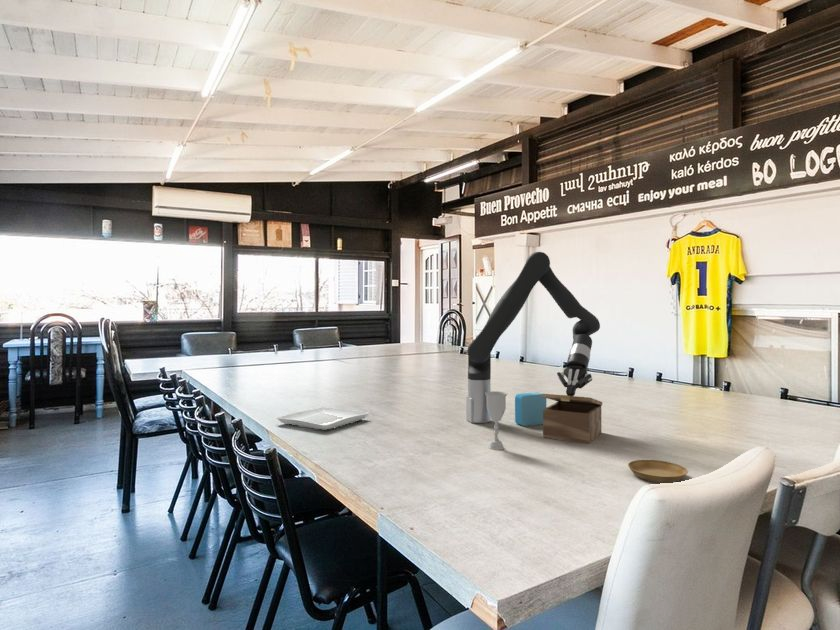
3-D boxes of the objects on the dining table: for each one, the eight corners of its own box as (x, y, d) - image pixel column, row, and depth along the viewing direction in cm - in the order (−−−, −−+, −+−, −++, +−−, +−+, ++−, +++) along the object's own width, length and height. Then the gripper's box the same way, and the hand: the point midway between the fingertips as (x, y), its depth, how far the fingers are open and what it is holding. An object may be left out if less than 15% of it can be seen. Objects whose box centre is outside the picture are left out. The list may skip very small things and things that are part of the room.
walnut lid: (557, 403, 194) (557, 398, 194) (602, 407, 185) (602, 402, 185) (541, 399, 178) (541, 393, 178) (589, 403, 169) (589, 397, 170)
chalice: (509, 445, 168) (508, 392, 168) (505, 451, 162) (505, 395, 161) (487, 444, 170) (487, 391, 170) (483, 449, 164) (482, 394, 164)
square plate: (371, 420, 209) (371, 411, 209) (325, 435, 186) (325, 424, 186) (322, 414, 223) (322, 405, 223) (274, 426, 200) (274, 416, 200)
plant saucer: (660, 489, 127) (660, 479, 127) (616, 472, 141) (616, 463, 141) (700, 481, 133) (700, 471, 133) (654, 465, 147) (654, 456, 147)
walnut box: (558, 427, 194) (558, 401, 194) (601, 432, 186) (601, 405, 185) (543, 437, 179) (543, 409, 179) (589, 443, 170) (589, 414, 170)
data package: (539, 421, 204) (539, 392, 204) (546, 423, 200) (546, 393, 200) (514, 424, 200) (514, 394, 200) (521, 426, 196) (521, 395, 196)
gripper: (559, 351, 190) (549, 387, 180) (595, 352, 183) (586, 390, 173) (563, 364, 195) (553, 400, 184) (598, 365, 188) (590, 403, 177)
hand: (569, 395), depth 179 cm, fingers closed
